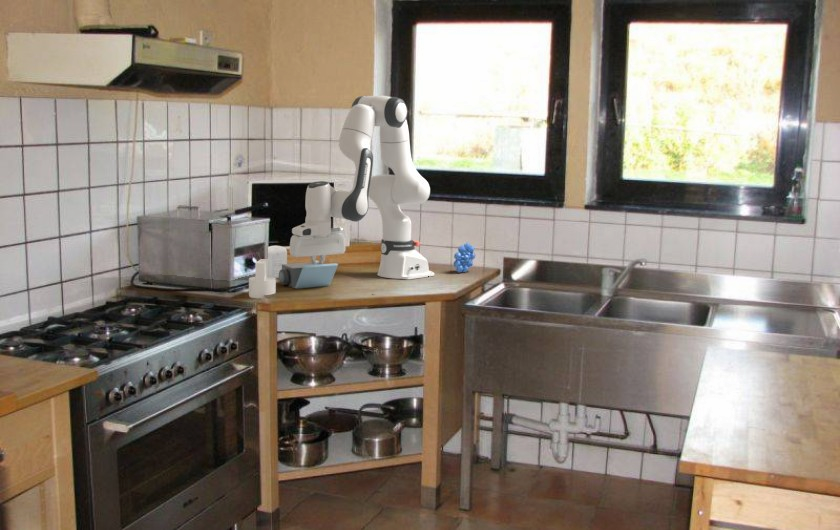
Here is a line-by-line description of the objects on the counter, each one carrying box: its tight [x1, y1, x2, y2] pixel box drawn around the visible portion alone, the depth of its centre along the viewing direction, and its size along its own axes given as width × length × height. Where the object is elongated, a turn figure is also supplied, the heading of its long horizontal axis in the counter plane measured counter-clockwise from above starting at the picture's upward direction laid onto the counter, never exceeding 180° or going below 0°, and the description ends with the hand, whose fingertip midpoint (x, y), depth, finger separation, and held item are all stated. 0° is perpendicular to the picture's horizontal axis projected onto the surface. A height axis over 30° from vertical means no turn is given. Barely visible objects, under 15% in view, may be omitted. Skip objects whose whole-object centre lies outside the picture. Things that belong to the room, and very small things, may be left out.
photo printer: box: [267, 245, 288, 279], centre depth 346 cm, size 10×4×12 cm, turn 134°
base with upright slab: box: [248, 258, 277, 299], centre depth 313 cm, size 9×9×12 cm
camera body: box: [278, 260, 320, 288], centre depth 331 cm, size 16×9×9 cm, turn 123°
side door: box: [294, 262, 339, 289], centre depth 324 cm, size 13×1×12 cm
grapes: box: [453, 242, 476, 273], centre depth 371 cm, size 12×7×12 cm, turn 133°
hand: (317, 268), depth 323 cm, fingers closed, pressing on side door
